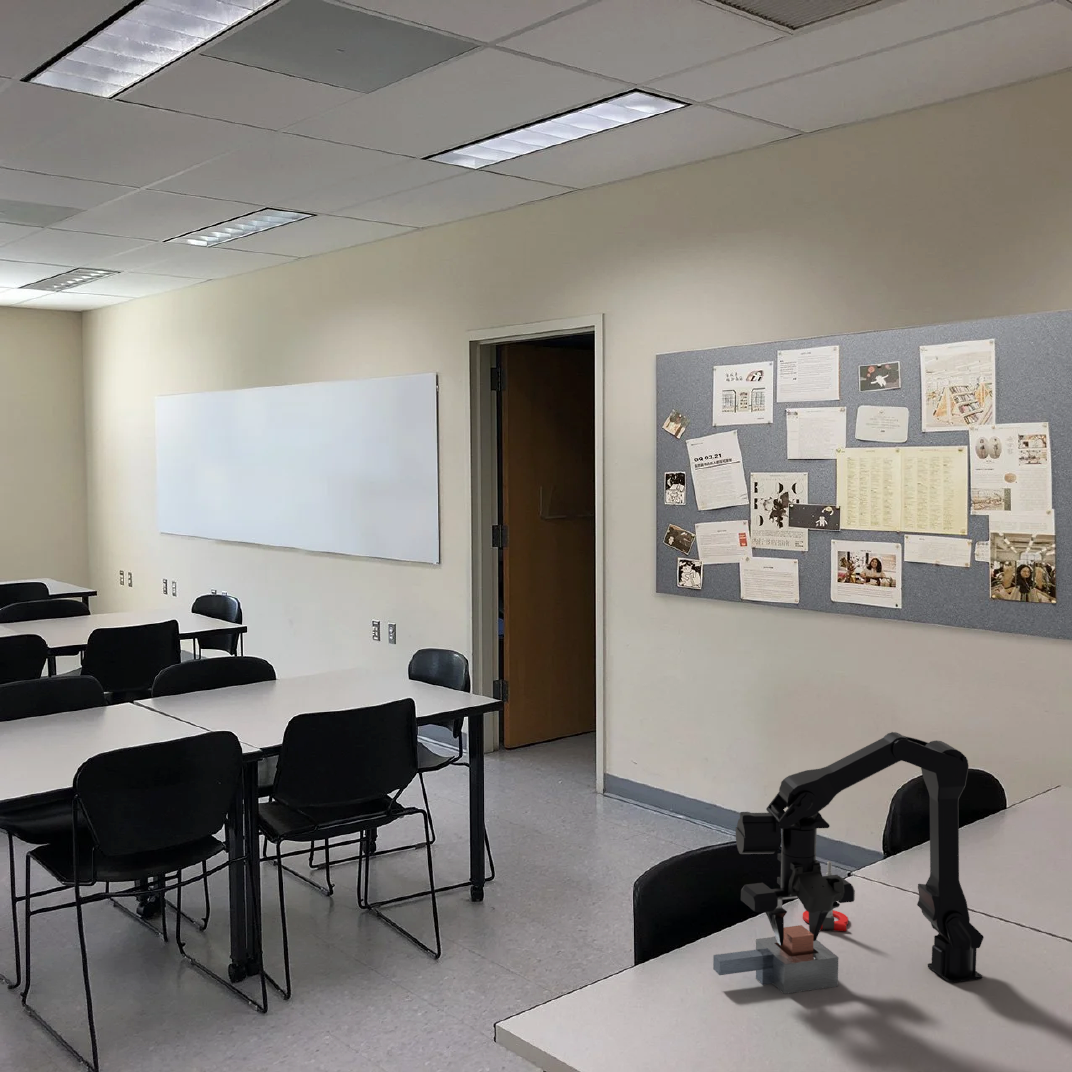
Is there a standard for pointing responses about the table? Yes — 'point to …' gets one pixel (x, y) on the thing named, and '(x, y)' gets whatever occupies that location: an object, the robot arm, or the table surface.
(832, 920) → the tow hook
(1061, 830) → the table surface
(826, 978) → the square frame with handle
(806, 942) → the square peg
